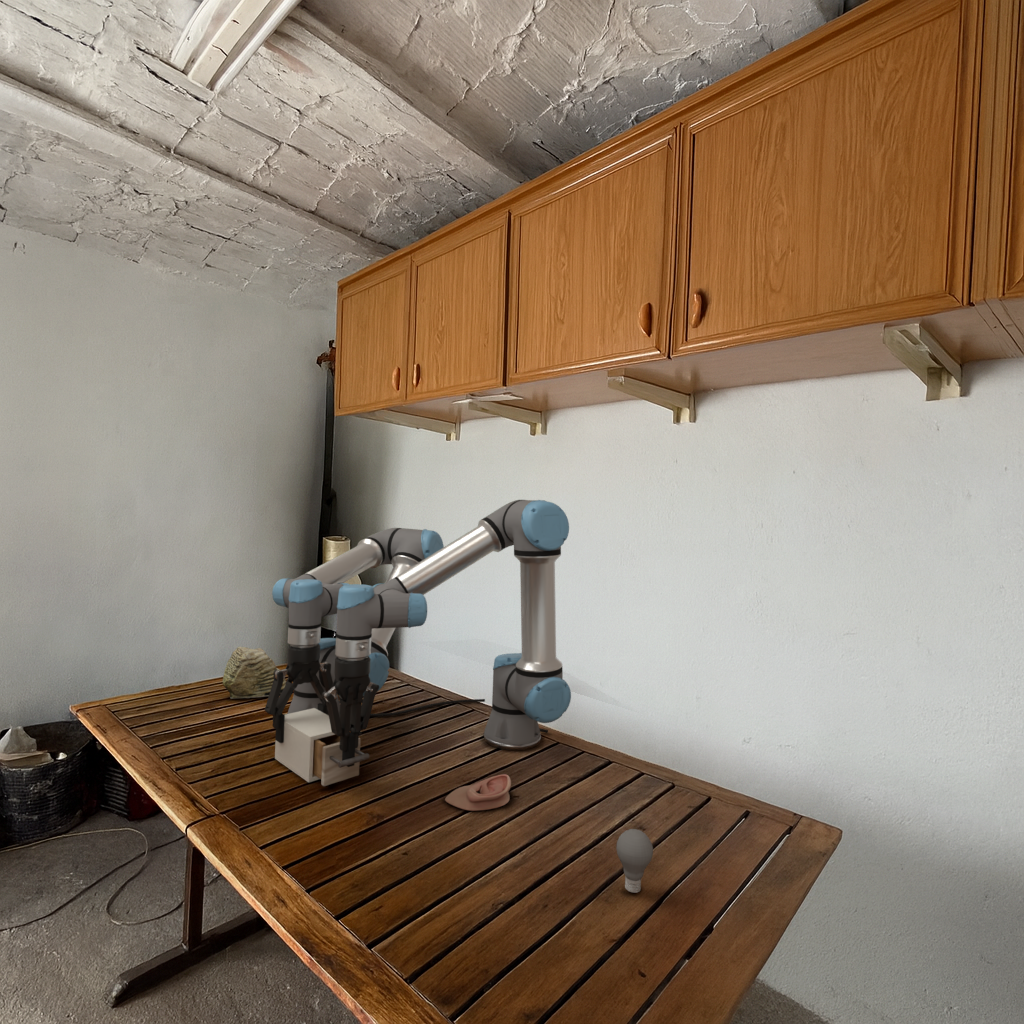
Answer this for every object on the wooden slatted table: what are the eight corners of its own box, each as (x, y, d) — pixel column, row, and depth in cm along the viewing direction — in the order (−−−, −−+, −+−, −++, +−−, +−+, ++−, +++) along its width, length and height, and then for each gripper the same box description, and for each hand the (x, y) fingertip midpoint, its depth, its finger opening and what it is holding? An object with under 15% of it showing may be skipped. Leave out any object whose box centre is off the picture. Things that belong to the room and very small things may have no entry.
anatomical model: (441, 787, 131) (457, 765, 142) (440, 806, 131) (456, 783, 143) (503, 796, 129) (514, 773, 140) (502, 816, 129) (513, 791, 140)
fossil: (218, 695, 195) (220, 647, 195) (278, 685, 208) (279, 640, 207) (228, 703, 189) (230, 653, 188) (289, 692, 201) (290, 645, 201)
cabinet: (348, 770, 147) (350, 726, 147) (308, 782, 140) (310, 737, 140) (312, 748, 159) (314, 707, 159) (274, 758, 152) (276, 716, 151)
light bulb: (610, 879, 108) (613, 822, 108) (644, 879, 109) (647, 822, 109) (619, 902, 102) (622, 840, 102) (655, 901, 103) (658, 840, 103)
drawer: (371, 783, 139) (373, 745, 139) (336, 795, 133) (337, 755, 133) (324, 753, 154) (325, 719, 153) (290, 763, 147) (291, 727, 147)
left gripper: (265, 654, 142) (261, 752, 142) (353, 641, 158) (350, 729, 158) (251, 647, 147) (247, 742, 148) (337, 635, 163) (334, 721, 164)
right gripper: (334, 664, 130) (329, 778, 131) (388, 655, 139) (383, 762, 140) (316, 656, 135) (312, 766, 136) (369, 648, 145) (364, 751, 145)
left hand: (300, 735), depth 153 cm, fingers closed on cabinet, 10 cm apart
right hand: (348, 763), depth 138 cm, fingers closed
